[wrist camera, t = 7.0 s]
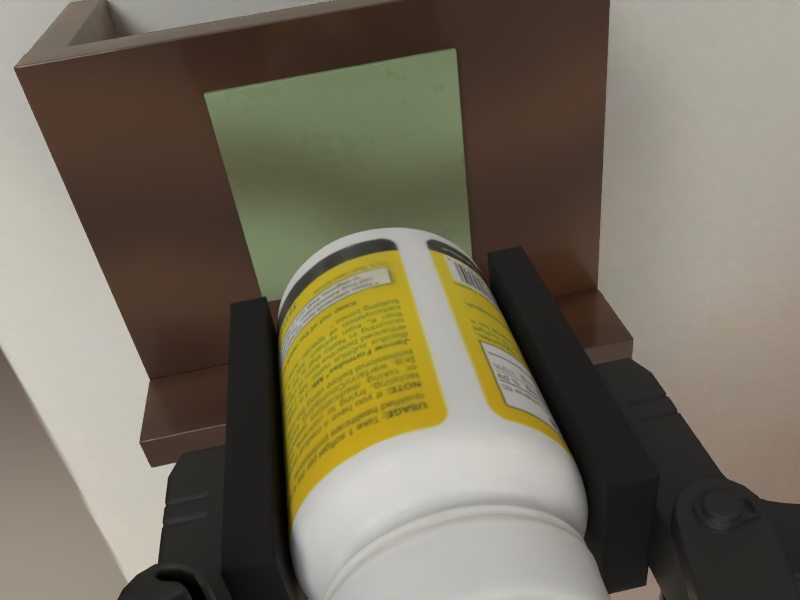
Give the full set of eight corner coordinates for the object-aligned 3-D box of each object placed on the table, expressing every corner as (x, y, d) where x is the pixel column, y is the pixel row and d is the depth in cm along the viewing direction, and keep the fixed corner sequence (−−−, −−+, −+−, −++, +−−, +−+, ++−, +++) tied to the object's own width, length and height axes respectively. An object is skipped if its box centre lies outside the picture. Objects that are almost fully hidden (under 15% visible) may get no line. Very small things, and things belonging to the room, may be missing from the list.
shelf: (68, 2, 24) (-23, 107, 16) (529, -76, 26) (663, -14, 17) (176, 291, 31) (150, 468, 23) (534, 220, 33) (631, 366, 24)
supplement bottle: (263, 388, 17) (271, 788, 10) (291, 207, 14) (326, 578, 8) (458, 398, 18) (582, 762, 11) (514, 233, 16) (717, 573, 9)
